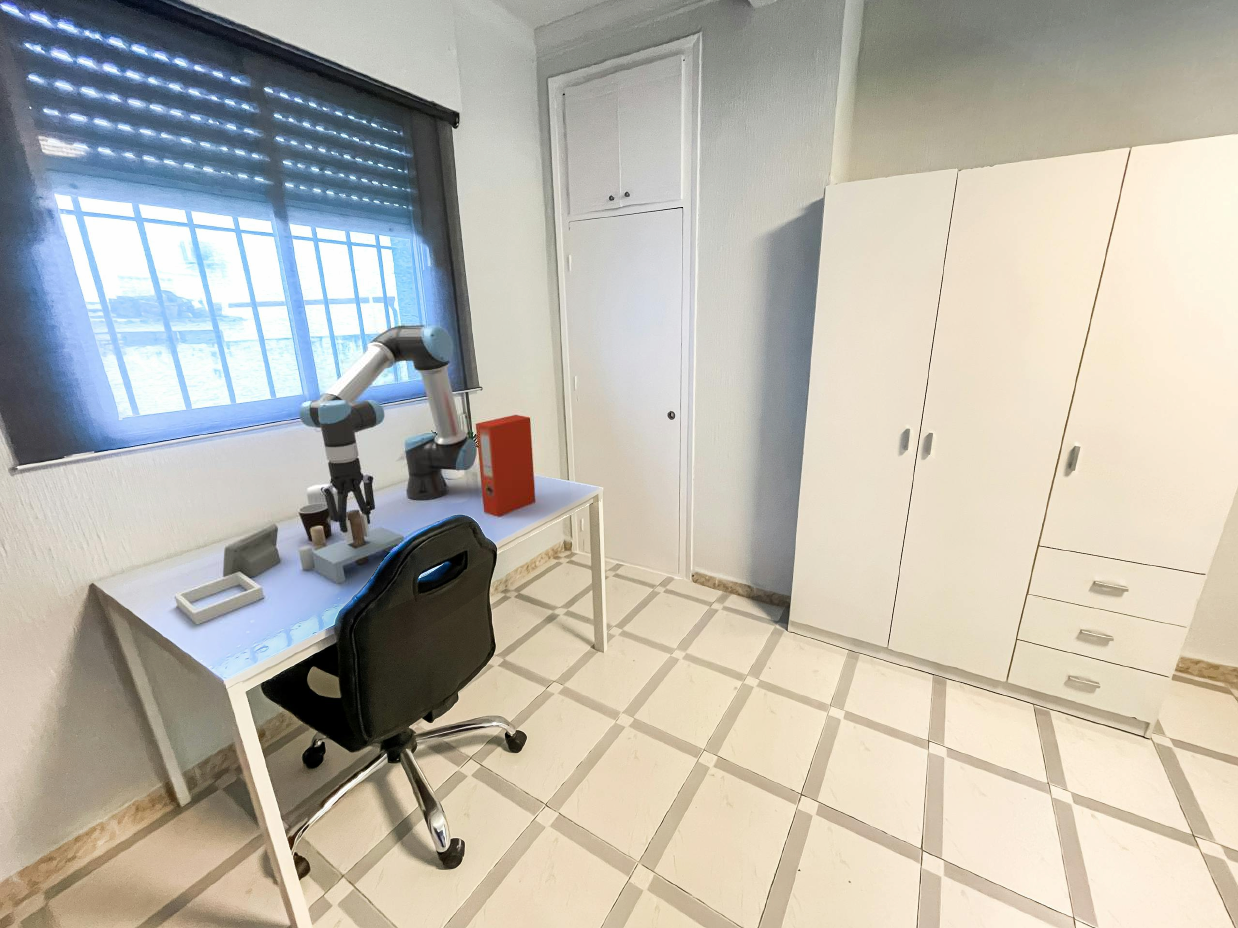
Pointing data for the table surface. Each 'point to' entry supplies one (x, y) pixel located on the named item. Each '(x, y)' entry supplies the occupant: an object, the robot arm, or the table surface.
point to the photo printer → (319, 495)
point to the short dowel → (306, 557)
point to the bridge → (352, 552)
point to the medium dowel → (318, 537)
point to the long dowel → (357, 532)
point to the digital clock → (252, 553)
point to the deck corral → (222, 606)
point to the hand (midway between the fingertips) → (358, 538)
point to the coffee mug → (316, 518)
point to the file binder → (506, 464)
